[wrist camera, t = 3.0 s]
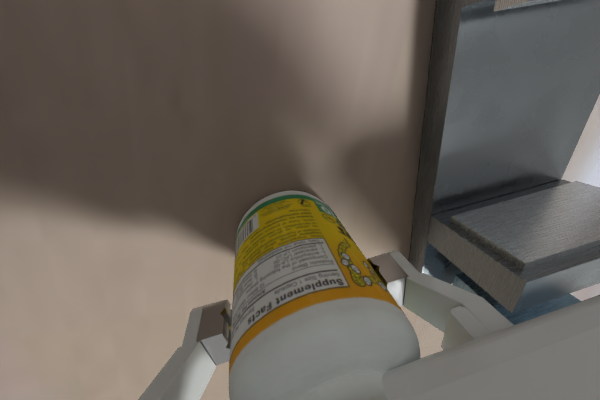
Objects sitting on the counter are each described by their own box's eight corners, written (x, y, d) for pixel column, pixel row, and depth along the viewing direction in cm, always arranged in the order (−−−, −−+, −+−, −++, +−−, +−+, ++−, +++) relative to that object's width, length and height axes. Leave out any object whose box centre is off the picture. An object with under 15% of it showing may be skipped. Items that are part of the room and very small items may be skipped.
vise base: (441, -44, 9) (798, -283, 3) (628, -69, 11) (1148, -278, 4) (406, 279, 19) (482, 370, 13) (506, 248, 20) (619, 319, 14)
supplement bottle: (220, 206, 12) (122, 668, 3) (326, 174, 13) (587, 454, 3) (256, 281, 15) (274, 622, 6) (340, 253, 16) (492, 519, 6)
